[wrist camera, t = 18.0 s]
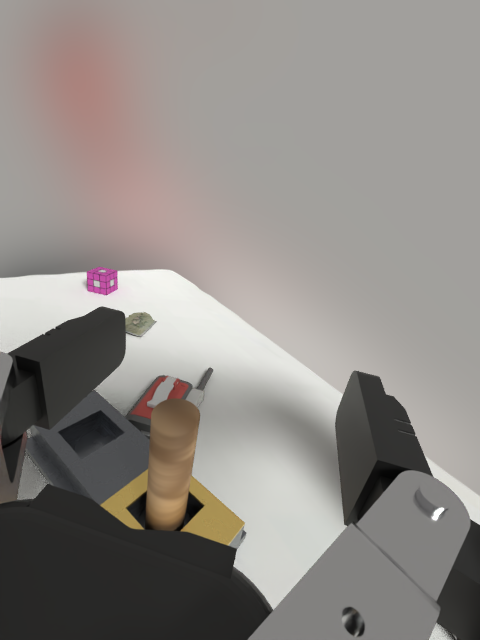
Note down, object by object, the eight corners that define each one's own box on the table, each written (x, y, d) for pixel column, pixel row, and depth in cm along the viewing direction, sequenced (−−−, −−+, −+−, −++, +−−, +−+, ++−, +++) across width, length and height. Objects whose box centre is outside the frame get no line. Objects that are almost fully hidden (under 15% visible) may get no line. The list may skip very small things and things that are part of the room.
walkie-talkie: (175, 456, 42) (215, 376, 60) (177, 433, 40) (218, 357, 58) (117, 439, 43) (173, 364, 61) (116, 415, 41) (175, 346, 59)
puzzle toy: (117, 289, 90) (117, 270, 87) (106, 295, 84) (106, 275, 82) (99, 285, 90) (99, 266, 88) (87, 291, 85) (86, 271, 83)
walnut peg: (166, 500, 35) (177, 392, 28) (191, 525, 33) (209, 415, 26) (136, 527, 32) (140, 413, 25) (162, 557, 30) (174, 442, 23)
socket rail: (103, 407, 48) (102, 385, 46) (244, 538, 34) (251, 514, 32) (22, 447, 39) (17, 422, 37) (167, 643, 25) (170, 619, 24)
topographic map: (163, 316, 80) (164, 310, 79) (141, 338, 67) (141, 332, 67) (115, 307, 81) (114, 301, 80) (83, 328, 68) (83, 321, 68)
